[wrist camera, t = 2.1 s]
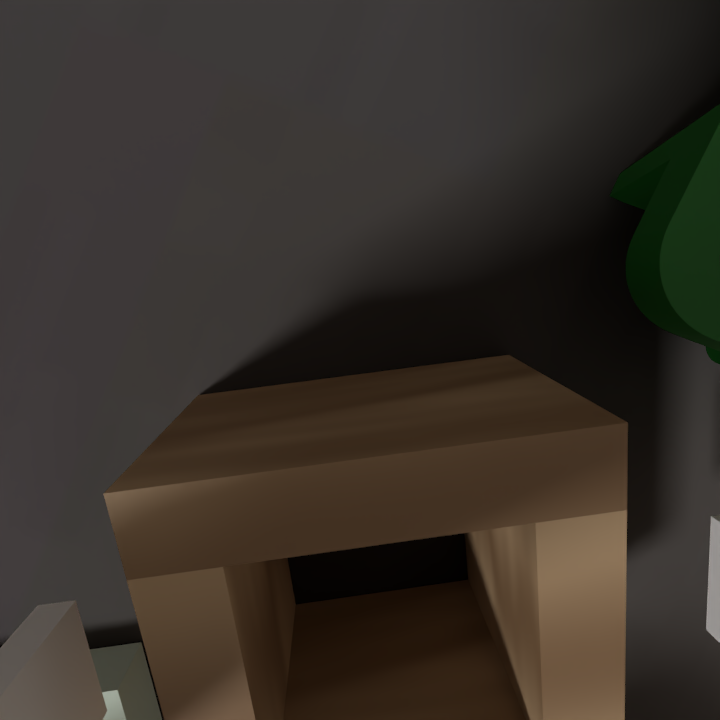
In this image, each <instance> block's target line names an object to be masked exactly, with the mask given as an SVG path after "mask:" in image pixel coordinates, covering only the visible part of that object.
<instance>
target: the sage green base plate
mask: <svg viewBox="0 0 720 720" xmlns="http://www.w3.org/2000/svg"><path fill="white" fill-rule="evenodd" d="M90 652H91V656H92V659H93V663H94V666H95V670H96V673H97V677H98V680H99V684H100V687H101V691H102V694H103V698H104V701H105V705H106V708H107V712H106V714H105V716H104V718H103V720H162V717H161V713H160V710H159V706H158V702H157V698H156V695H155V691H154V687H153V684H152V680H151V676H150V673H149V669H148V665H147V661H146V658H145V654H144V650H143V647H142V643H141V642H139V643H132V644H125V645H118V646H111V647H104V648H97V649H90Z"/></svg>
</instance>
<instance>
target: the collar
mask: <svg viewBox="0 0 720 720" xmlns="http://www.w3.org/2000/svg"><path fill="white" fill-rule="evenodd" d="M627 468H628V422H626V421H624V420H622V419H621V418H619V417H617V416H615V415H614V414H612V413H610V412H608V411H607V410H605V409H603V408H601V407H600V406H598V405H596V404H594V403H593V402H591V401H589V400H587V399H586V398H584V397H582V396H580V395H579V394H577V393H575V392H573V391H572V390H570V389H568V388H566V387H564V386H563V385H561V384H559V383H557V382H556V381H554V380H552V379H550V378H549V377H547V376H545V375H543V374H542V373H540V372H538V371H536V370H535V369H533V368H531V367H529V366H528V365H526V364H524V363H522V362H521V361H519V360H517V359H515V358H514V357H512V356H510V355H503V356H495V357H487V358H480V359H472V360H464V361H456V362H449V363H441V364H433V365H426V366H418V367H410V368H403V369H395V370H387V371H380V372H372V373H364V374H357V375H349V376H341V377H334V378H326V379H318V380H310V381H303V382H295V383H287V384H280V385H272V386H264V387H257V388H249V389H241V390H234V391H226V392H218V393H211V394H203V395H198V396H197V397H196V398H195V399H194V400H193V401H192V402H191V403H190V404H189V405H188V406H187V407H186V408H185V409H184V411H183V412H182V413H181V414H180V415H179V416H178V417H177V418H176V419H175V420H174V421H173V422H172V423H171V424H170V425H169V426H168V427H167V428H166V429H165V430H164V431H163V432H162V433H161V434H160V435H159V436H158V438H157V439H156V440H155V441H154V442H153V443H152V444H151V445H150V446H149V447H148V448H147V449H146V450H145V451H144V452H143V453H142V454H141V455H140V456H139V457H138V458H137V459H136V460H135V461H134V462H133V463H132V465H131V466H130V467H129V468H128V469H127V470H126V471H125V472H124V473H123V474H122V475H121V476H120V477H119V478H118V479H117V480H116V481H115V482H114V483H113V484H112V485H111V486H110V487H109V488H108V489H107V490H106V492H105V493H104V497H105V501H106V505H107V509H108V512H109V516H110V520H111V524H112V527H113V531H114V535H115V538H116V542H117V546H118V550H119V553H120V557H121V561H122V564H123V568H124V572H125V576H126V579H127V583H128V587H129V590H130V594H131V598H132V602H133V605H134V609H135V613H136V616H137V620H138V624H139V628H140V631H141V635H142V639H143V643H144V646H145V650H146V654H147V657H148V661H149V665H150V669H151V672H152V676H153V680H154V683H155V687H156V691H157V695H158V698H159V702H160V706H161V709H162V713H163V717H164V720H625V643H626V556H627ZM461 533H465V545H466V558H467V571H468V580H463V581H456V582H449V583H442V584H435V585H428V586H421V587H414V588H407V589H400V590H393V591H386V592H379V593H372V594H365V595H359V596H352V597H345V598H338V599H331V600H324V601H317V602H310V603H303V604H296V603H295V598H294V592H293V586H292V581H291V575H290V569H289V564H288V558H290V557H297V556H304V555H311V554H318V553H325V552H332V551H340V550H347V549H354V548H361V547H368V546H375V545H382V544H389V543H396V542H404V541H411V540H418V539H425V538H432V537H439V536H446V535H453V534H461Z"/></svg>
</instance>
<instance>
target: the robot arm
mask: <svg viewBox="0 0 720 720" xmlns="http://www.w3.org/2000/svg"><path fill="white" fill-rule="evenodd" d="M706 630H707V631H708V632H709V633H710V634H711V635H712V636H713V637H714V638H715V639H716V640H717V641H718V642H719V643H720V515H716V516H711V529H710V552H709V575H708V598H707V621H706ZM106 712H107V708H106V705H105V701H104V698H103V694H102V691H101V687H100V684H99V680H98V677H97V673H96V670H95V666H94V663H93V659H92V656H91V652H90V649H89V645H88V642H87V638H86V635H85V632H84V628H83V625H82V621H81V618H80V614H79V611H78V607H77V604H76V600H75V601H67V602H59V603H52V604H44V605H38V606H37V607H36V608H35V609H34V610H33V611H32V612H31V614H30V615H29V616H28V617H27V618H26V619H25V620H24V621H23V623H22V624H21V625H20V626H19V627H18V628H17V629H16V631H15V632H14V633H13V634H12V635H11V636H10V637H9V638H8V640H7V641H6V642H5V643H4V644H3V645H2V646H1V648H0V720H103V718H104V716H105V714H106Z"/></svg>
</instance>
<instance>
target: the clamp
mask: <svg viewBox="0 0 720 720" xmlns="http://www.w3.org/2000/svg"><path fill="white" fill-rule="evenodd" d="M610 197H613V198H615V199H617V200H619V201H622V202H624V203H626V204H629V205H632V206H635V207H638V208H641V209H643V210H645V212H644V214H643V216H642V218H641V220H640V222H639V224H638V226H637V229H636V231H635V233H634V235H633V237H632V239H631V242H630V245H629V248H628V252H627V257H626V279H627V284H628V288H629V291H630V294H631V296H632V298H633V300H634V302H635V304H636V305H637V307H638V308H639V310H640V311H641V312H642V313H643V314H644V315H645V316H646V317H647V318H648V319H649V320H650V321H651V322H653V323H654V324H655V325H657V326H658V327H660V328H662V329H664V330H666V331H668V332H670V333H673V334H675V335H678V336H680V337H683V338H686V339H688V340H691V341H694V342H696V343H699V344H701V345H704V346H706V351H707V354H708V356H709V357H710V358H711V360H713V361H714V362H716V363H718V364H720V261H719V258H720V104H719V105H718V106H716V107H715V108H713V109H712V110H710V111H709V112H708V113H706V114H705V115H703V116H702V117H700V118H699V119H698V120H696V121H695V122H693V123H692V124H690V125H689V126H687V127H686V128H685V129H683V130H682V131H680V132H679V133H677V134H676V135H675V136H673V137H672V138H670V139H669V140H667V141H666V142H664V143H663V144H662V145H660V146H659V147H657V148H656V149H654V150H653V151H652V152H650V153H649V154H647V155H646V156H644V157H643V158H641V159H640V160H639V161H637V162H636V163H634V164H633V165H631V166H630V167H629V168H627V169H626V170H624V171H623V172H621V173H620V175H619V177H618V179H617V181H616V183H615V185H614V187H613V190H612V192H611V194H610Z"/></svg>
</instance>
